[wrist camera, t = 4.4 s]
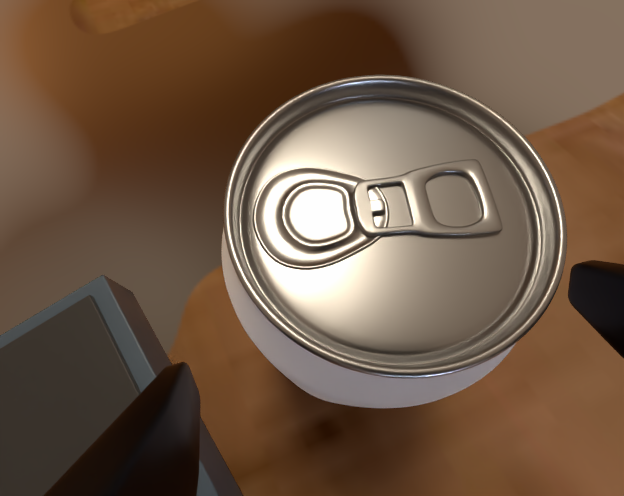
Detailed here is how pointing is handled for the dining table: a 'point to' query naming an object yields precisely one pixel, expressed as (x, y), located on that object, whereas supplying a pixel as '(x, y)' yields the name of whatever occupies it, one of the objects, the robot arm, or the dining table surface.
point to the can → (389, 240)
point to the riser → (80, 387)
